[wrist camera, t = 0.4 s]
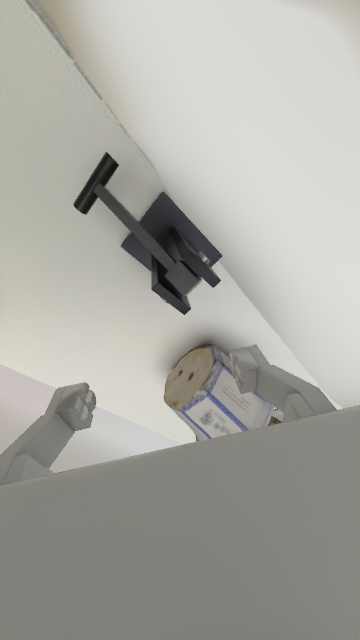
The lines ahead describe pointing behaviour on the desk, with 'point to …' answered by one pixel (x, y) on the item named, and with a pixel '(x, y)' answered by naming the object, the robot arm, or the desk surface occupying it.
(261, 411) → the potted plant
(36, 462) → the robot arm
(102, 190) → the lever
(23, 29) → the desk surface
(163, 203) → the bracket
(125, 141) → the desk surface
